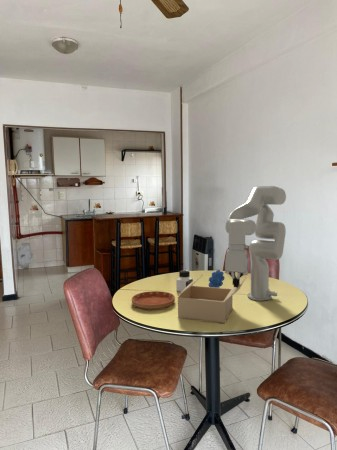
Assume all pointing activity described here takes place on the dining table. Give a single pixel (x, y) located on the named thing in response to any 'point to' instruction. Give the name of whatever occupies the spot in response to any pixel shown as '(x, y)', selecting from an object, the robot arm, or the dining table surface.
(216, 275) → the grapes
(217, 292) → the carton
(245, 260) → the robot arm
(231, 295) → the near flap
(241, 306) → the dining table surface
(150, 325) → the dining table surface
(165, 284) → the dining table surface
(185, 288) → the far flap
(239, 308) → the dining table surface
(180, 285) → the medicine bottle
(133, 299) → the saucer
